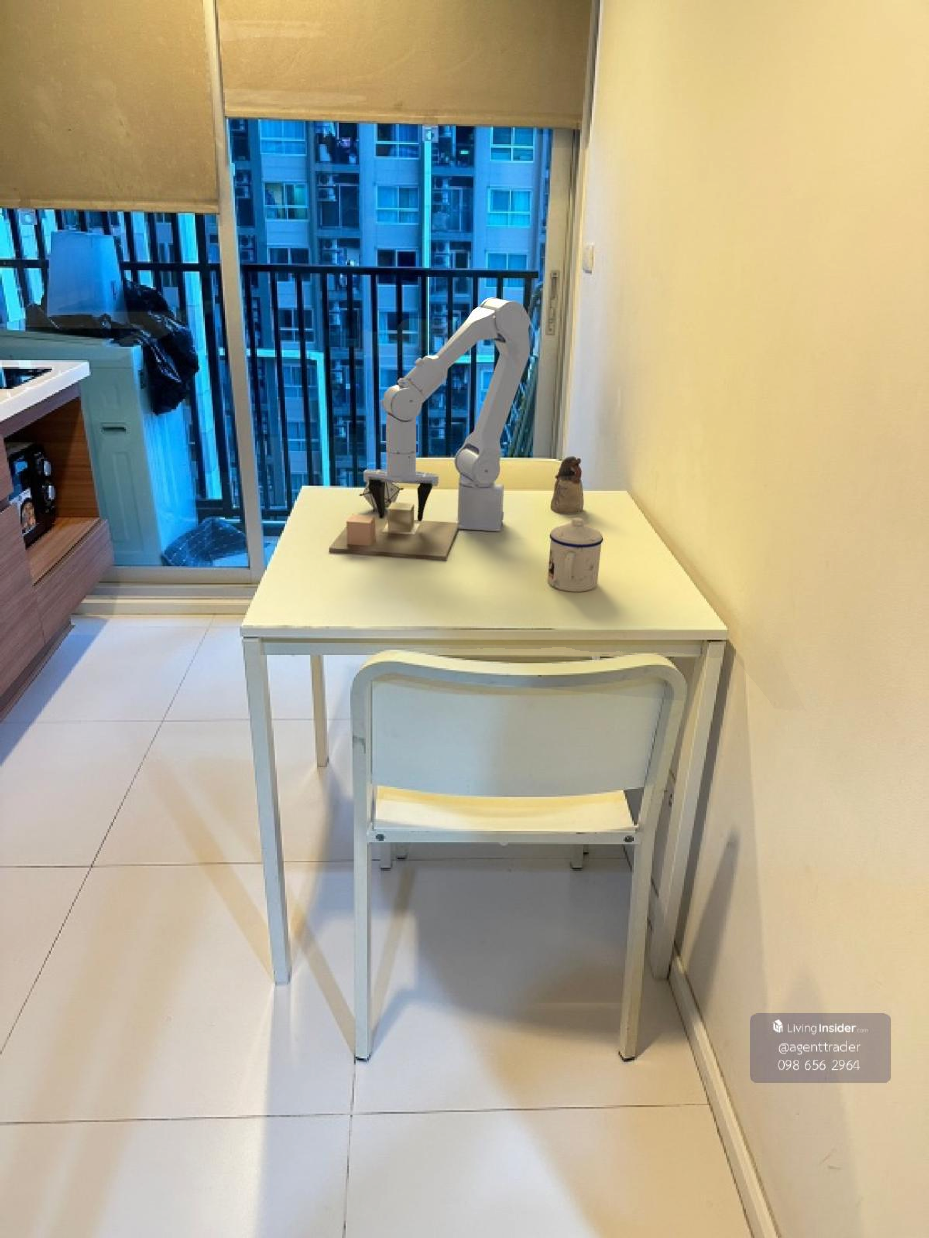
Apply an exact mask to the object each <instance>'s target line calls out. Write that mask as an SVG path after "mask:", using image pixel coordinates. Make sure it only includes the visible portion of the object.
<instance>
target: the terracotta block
mask: <svg viewBox="0 0 929 1238" xmlns="http://www.w3.org/2000/svg"><path fill="white" fill-rule="evenodd" d="M375 517H376V515H371V514H370V515H369V514H355V513H352V514H351V515H350V516H349V517H348V519H347V520H346V522H345V523H346V526H347V544H352V545H366V546H371V544H372V543H373V541H374V540H375V538H376V534H375Z"/></svg>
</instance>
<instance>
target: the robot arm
mask: <svg viewBox="0 0 929 1238" xmlns="http://www.w3.org/2000/svg"><path fill="white" fill-rule="evenodd" d="M531 320H532V319H531V318H530V316H529V315H528V312H527V311H526V309H525V307H524V305H522V304H521V303H520V302H518V301H517V300H505V299H500V298H497V297H488V298H487V299H485V300H484V301H482V303H480V305H479V306H478V307H476V308H475V309H473V310H472V312H471V313H470V315H469V316H468V317H467V319H466V320H465V321H464V322H463V323H462V325H461V326H460V327H459V328H458V329H457V330H456V331H455V332H454V333H453V335H452V336H451V337H450V338H449V339H448V340H447V341H446V343H445V344H444V345H443V346H442V347H440V349H439V350H438V351H437V353H435V354H434V355H425V356H424V357H423V358H421V357H418V358H417V359H416V360H415V361H414V364H415V366H414V367H413V368H411V370H410V371H409V372H408V373H407V374H406V375H405V376H404V377H403V378H402V377H399V379H398V380H397V383H398V384H394V385H393V386H392V385H391V386H390V387H388V389H387V390H386V391H385V392H384V394H383V396H384V397H382V399H381V401H380V404H381V407H382V409H383V411H384V412H385V414H386V416H385V417H386V419H385V420H386V421H385V422H386V424H385V425H386V426H385V444H386V445H385V447H386V448H385V451H386V453H385V457H386V458H385V459H386V461H385V462H386V463H385V465H386V466H385V467H386V469H365V470H364V471H363V482H364V483H367V482H369V485H368V488H369V491H370V492H371V494H372V496H373V498H374V500H375V503H376V505H377V509H376V510H377V512H378V515H379V518H381V519H383V518H385V516H386V508H385V482H393V483H396V484H407V485H408V484H409V485H411V484H413V485H418V487H417V489H416V491H417V505H418V506H417V520H418V521H422V520H423V519H424V513H425V507H426V505H427V501H428V499H429V496H430V494H431V492H432V489H433V487H438V485H439V482H440V481H439V480H440V479H439V476H440V475H439V474H438V473H429V472H425V471H417V468H416V467H417V463H416V462H417V423H416V422H417V421H416V420H417V416H419V415H420V413H421V410H422V406H423V403H424V402H425V401H426V400H428V399H429V397H430V396H431V395H432V394H433V393H435V392H436V390H438V388H439V387H441V386H442V384H443V383H444V382H445V381H446V380H447V378H448V370H449V368H450V367H451V366H452V365H454V363H456V362H457V361H458V360H459V359H460V358H461V357H463V356H464V355H465V354H466V353H467V351H469V350H470V349H471V348H473V346H475V345H476V344H477V343H478V342H480V341H484V340H493V342H494V344H495V346H496V348H497V350H498V352H499V356H498V360H497V363H496V365H495V368H494V371H493V373H492V376H491V377H492V378H491V380H490V383H489V386H488V388H487V391H486V395H485V397H484V401H483V404H482V407H481V409H480V412H479V415H478V419H477V422H476V423H475V427H474V430H473V432H471V433H470V434H469V435H468V436H467V437H466V438H465V441H464V443H463V444H462V447H461V448H459V450H458V451H457V452H456V454H455V456H454V460H453V461H454V463H453V464H454V467H455V469H456V472H458V473H459V477H458V490H457V491H458V492H457V494H458V495H457V517H456V519H455V522H454V523H459V527H458V530H470V531H471V530H473V531H487V532H489V531H490V532H500V530H501V528H502V527H501V526H502V523H503V521H504V515H505V512H504V509H503V508H504V493H505V492H504V491H505V488H504V487H505V485H504V484H501V483H496V481H497V479H498V478H499V475H500V473H501V465H500V463H501V458H502V456H503V452H502V447H501V444H500V439H501V436H502V433H503V430H504V428H505V425H506V422H507V419H508V416H509V413H510V411H511V407H512V405H513V402H514V399H515V396H516V394H517V391H518V388H519V385H520V383H521V380H522V377H523V374H524V371H525V368H526V365H527V363H528V360H529V357H530V351H531V350H530V349H531V347H530V336H529V332H530V331H529V327H530V325H531V322H532V321H531Z"/></svg>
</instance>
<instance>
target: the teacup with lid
mask: <svg viewBox="0 0 929 1238" xmlns="http://www.w3.org/2000/svg"><path fill="white" fill-rule="evenodd" d="M549 538H550V541H549V542H550V543H549V544H550V545H549V554H548V556H549V558H548V570H547V582H548V584H549V585H550V586H551V587H552V588H555V589H557V590H560V591H564V592H572V593H581V592H582V593H583V592H588V591H591V590H594V588H596V587H597V585H598V579H599V572H600V571H599V570H600V562H601V561H600V560H601V553H602V552H601V549H602V543H603V542H604V537H603V534H602V533H601V531H599V530H598V529H596V528H593V527H591V526H589V525H588V524H586V523H585V520H584V519H583V518H581V517H573V519H572V520H571V522H570V523H567V524H565V525H560V526H556V527H555V528H553V529H551V531H550V534H549Z"/></svg>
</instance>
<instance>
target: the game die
mask: <svg viewBox="0 0 929 1238" xmlns="http://www.w3.org/2000/svg"><path fill="white" fill-rule="evenodd" d="M368 485H369V482H366V484H365V486H364V490H363V492H362V493H359V495H358V496H359V497H362V496H363V497H364V498H365V500H366V501H367V502H368V503H369V505H370V506H371V507H372V508H373V509H372V513H373V514H374V513H375V512H376V510H378V509H377V505H376V503H375V500H374V498H373V496H372V494H371V492H370V491H369V488H368ZM404 489H405V488H404V487H399V485H398V483H393V482H385V509H388V507H389V506H390V504H391V503H392V502H396V501H397V499H398V496H399V493H400V491H403V490H404Z"/></svg>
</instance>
